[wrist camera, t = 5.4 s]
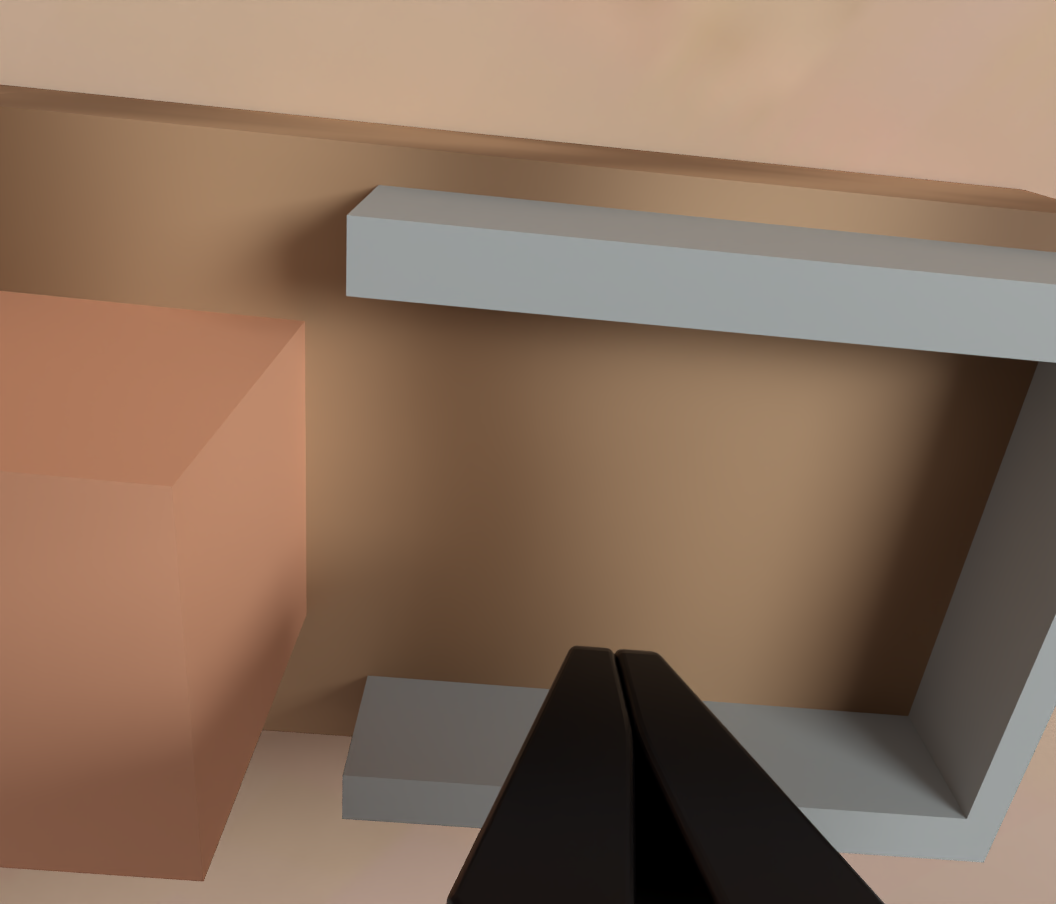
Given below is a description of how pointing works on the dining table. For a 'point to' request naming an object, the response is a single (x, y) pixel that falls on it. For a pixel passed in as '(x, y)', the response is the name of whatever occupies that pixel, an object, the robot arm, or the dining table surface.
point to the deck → (549, 408)
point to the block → (142, 574)
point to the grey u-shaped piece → (773, 310)
